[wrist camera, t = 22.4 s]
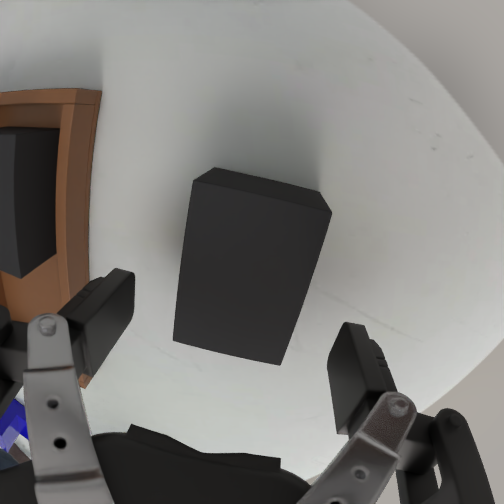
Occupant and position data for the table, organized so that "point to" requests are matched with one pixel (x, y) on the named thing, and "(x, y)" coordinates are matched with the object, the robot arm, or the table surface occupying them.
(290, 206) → the pad
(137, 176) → the table surface
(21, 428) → the mounting bracket
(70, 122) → the tray
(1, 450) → the knee pad
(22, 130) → the pad
